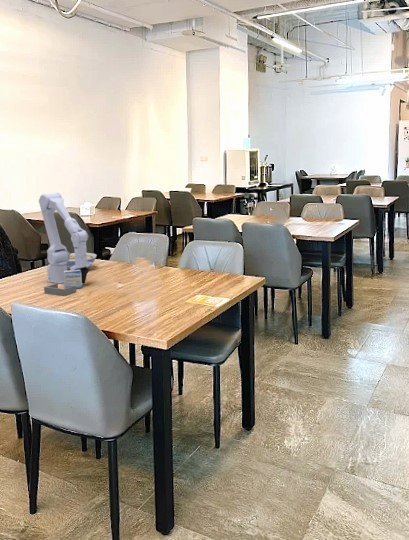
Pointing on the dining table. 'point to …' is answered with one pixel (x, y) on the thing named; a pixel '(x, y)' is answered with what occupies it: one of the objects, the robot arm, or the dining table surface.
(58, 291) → the cradle jig
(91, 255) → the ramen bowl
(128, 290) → the dining table surface
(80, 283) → the medicine box
